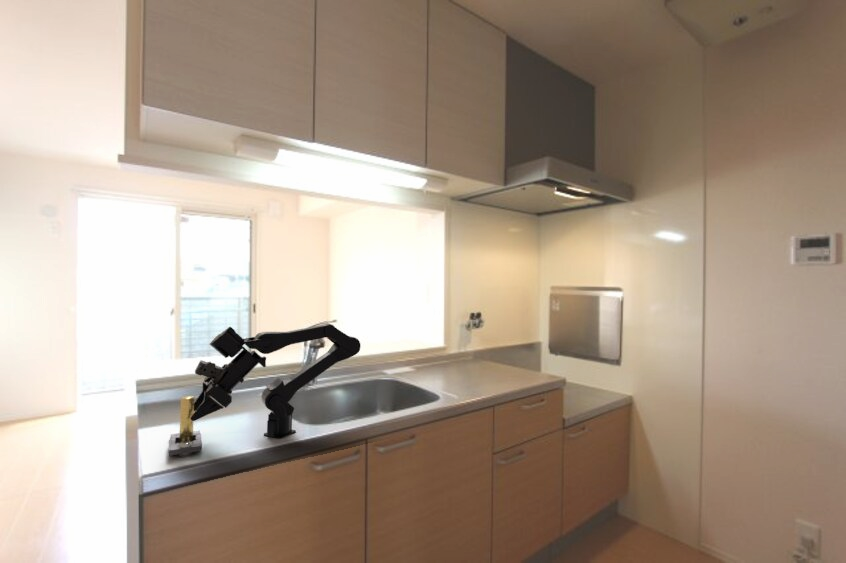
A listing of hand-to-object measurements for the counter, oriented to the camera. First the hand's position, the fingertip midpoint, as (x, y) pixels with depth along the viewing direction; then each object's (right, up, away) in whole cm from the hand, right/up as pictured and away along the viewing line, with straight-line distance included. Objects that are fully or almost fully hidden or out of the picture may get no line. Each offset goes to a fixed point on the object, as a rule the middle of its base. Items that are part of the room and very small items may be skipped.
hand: (191, 415), depth 105 cm
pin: (-1, -8, -1) cm, 8 cm away
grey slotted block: (-2, -8, 0) cm, 9 cm away
